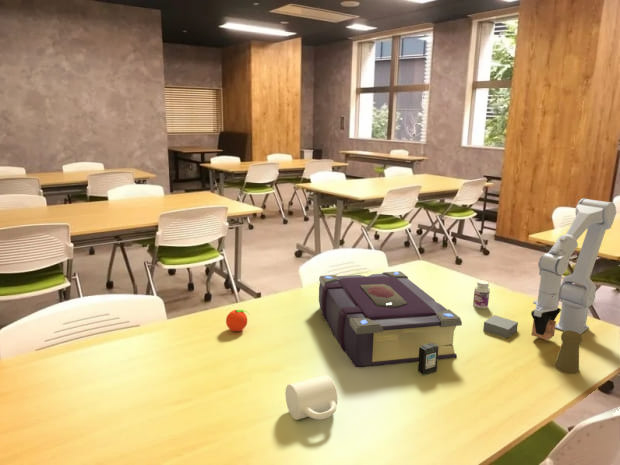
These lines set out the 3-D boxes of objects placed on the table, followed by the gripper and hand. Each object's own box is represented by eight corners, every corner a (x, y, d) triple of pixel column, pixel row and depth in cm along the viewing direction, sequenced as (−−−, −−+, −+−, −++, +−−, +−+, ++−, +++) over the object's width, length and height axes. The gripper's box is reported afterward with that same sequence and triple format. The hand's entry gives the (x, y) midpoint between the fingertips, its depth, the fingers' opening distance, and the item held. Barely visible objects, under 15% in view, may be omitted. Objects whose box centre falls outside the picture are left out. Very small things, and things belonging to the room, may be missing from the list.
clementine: (246, 323, 157) (246, 304, 155) (253, 332, 151) (253, 311, 149) (223, 328, 153) (223, 308, 152) (229, 336, 147) (229, 315, 146)
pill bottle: (471, 306, 174) (473, 282, 172) (474, 302, 178) (477, 278, 176) (486, 310, 171) (489, 285, 169) (489, 305, 176) (492, 281, 173)
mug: (284, 407, 111) (285, 378, 109) (321, 397, 116) (322, 368, 114) (307, 437, 101) (307, 405, 99) (346, 425, 105) (347, 394, 103)
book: (350, 370, 129) (352, 324, 125) (314, 308, 171) (314, 272, 168) (458, 359, 136) (463, 315, 133) (398, 302, 179) (400, 267, 175)
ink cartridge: (423, 376, 126) (424, 349, 124) (417, 372, 128) (419, 345, 126) (437, 371, 128) (438, 345, 126) (431, 367, 130) (433, 342, 128)
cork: (582, 375, 128) (588, 338, 125) (558, 372, 129) (564, 336, 126) (574, 364, 133) (580, 329, 131) (552, 361, 135) (557, 326, 132)
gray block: (493, 324, 160) (494, 315, 159) (516, 331, 154) (518, 322, 154) (483, 331, 154) (484, 321, 153) (507, 339, 149) (508, 329, 148)
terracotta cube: (538, 330, 151) (539, 316, 150) (554, 335, 148) (556, 321, 147) (531, 335, 148) (533, 320, 147) (547, 340, 145) (549, 325, 143)
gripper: (545, 282, 152) (539, 320, 155) (526, 293, 143) (520, 333, 146) (568, 288, 147) (562, 327, 150) (549, 299, 137) (544, 341, 141)
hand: (543, 331), depth 148 cm, fingers closed on terracotta cube, 5 cm apart
